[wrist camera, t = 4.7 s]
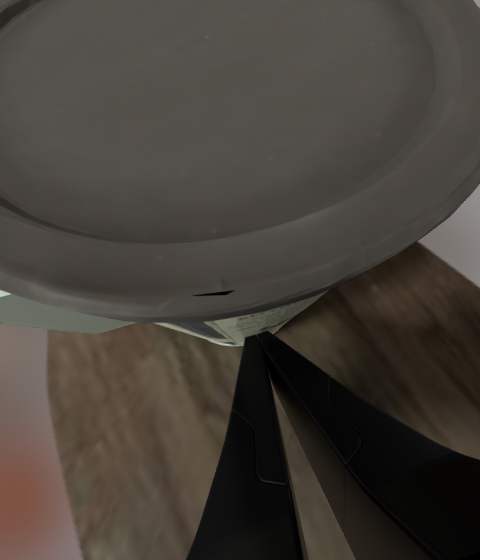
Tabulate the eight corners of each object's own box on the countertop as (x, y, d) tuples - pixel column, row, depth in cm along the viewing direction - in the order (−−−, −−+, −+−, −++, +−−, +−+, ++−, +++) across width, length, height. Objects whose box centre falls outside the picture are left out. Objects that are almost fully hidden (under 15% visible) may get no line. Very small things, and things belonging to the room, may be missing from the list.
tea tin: (167, 313, 16) (82, 274, 8) (97, 334, 16) (-72, 316, 7) (156, 252, 18) (77, 165, 10) (93, 269, 18) (-48, 195, 9)
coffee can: (219, 209, 19) (161, -105, 6) (320, 264, 17) (571, -35, 4) (146, 299, 17) (-254, 89, 3) (254, 376, 15) (345, 654, 1)
